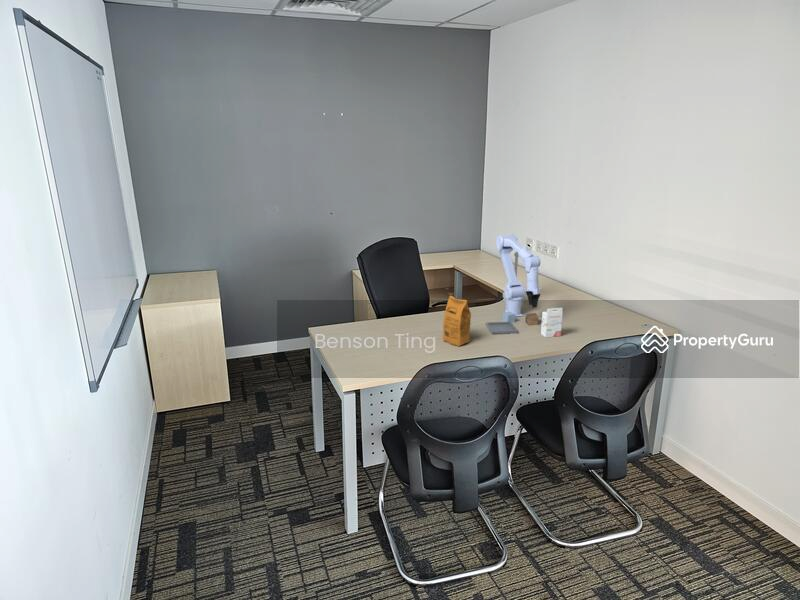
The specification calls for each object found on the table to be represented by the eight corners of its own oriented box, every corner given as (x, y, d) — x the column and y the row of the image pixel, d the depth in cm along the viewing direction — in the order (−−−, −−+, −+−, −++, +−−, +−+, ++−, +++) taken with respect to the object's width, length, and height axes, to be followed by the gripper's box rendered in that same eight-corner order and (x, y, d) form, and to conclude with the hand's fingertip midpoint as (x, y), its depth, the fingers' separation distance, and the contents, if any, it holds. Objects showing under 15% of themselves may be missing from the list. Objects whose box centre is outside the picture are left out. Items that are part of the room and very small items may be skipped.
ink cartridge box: (556, 332, 262) (558, 304, 257) (561, 336, 257) (563, 307, 253) (540, 333, 260) (542, 305, 256) (544, 337, 255) (547, 308, 251)
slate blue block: (502, 320, 278) (503, 312, 277) (509, 319, 280) (510, 311, 279) (507, 323, 274) (508, 315, 273) (514, 322, 276) (515, 314, 275)
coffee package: (454, 335, 258) (455, 292, 252) (472, 342, 249) (474, 298, 242) (439, 340, 252) (440, 296, 246) (457, 348, 243) (459, 302, 236)
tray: (485, 325, 272) (485, 322, 271) (510, 324, 273) (510, 321, 272) (491, 334, 259) (492, 331, 259) (517, 333, 261) (517, 330, 260)
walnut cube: (525, 322, 277) (525, 313, 275) (534, 321, 277) (535, 312, 275) (528, 325, 272) (528, 316, 270) (537, 325, 272) (538, 315, 271)
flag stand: (527, 305, 303) (530, 254, 294) (504, 305, 303) (507, 254, 294) (522, 298, 315) (526, 249, 306) (500, 298, 315) (503, 249, 306)
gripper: (543, 281, 261) (543, 308, 263) (537, 277, 275) (538, 303, 277) (529, 282, 261) (529, 308, 264) (524, 278, 276) (524, 303, 278)
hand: (533, 306), depth 270 cm, fingers open, 7 cm apart
